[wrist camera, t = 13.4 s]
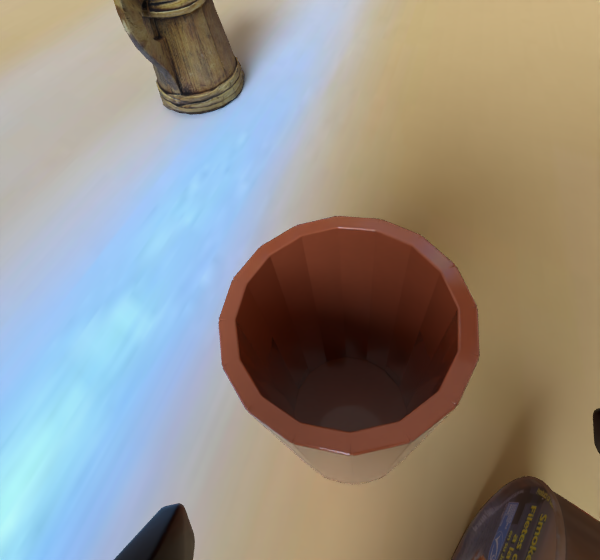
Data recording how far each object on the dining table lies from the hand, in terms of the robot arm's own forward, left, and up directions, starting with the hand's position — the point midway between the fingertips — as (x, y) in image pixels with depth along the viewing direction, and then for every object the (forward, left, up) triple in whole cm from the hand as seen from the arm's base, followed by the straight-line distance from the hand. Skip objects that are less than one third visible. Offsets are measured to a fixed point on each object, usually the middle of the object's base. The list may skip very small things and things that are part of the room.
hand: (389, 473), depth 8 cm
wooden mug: (+36, +10, -13) cm, 40 cm away
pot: (+4, 0, -12) cm, 13 cm away
